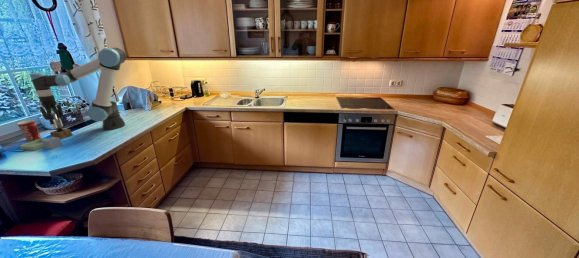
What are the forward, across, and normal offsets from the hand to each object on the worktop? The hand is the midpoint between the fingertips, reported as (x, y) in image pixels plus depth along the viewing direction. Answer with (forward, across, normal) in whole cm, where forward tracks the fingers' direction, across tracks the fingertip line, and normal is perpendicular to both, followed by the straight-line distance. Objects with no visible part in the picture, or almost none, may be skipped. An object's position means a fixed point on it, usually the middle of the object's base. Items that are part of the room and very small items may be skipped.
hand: (58, 127), depth 174 cm
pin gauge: (+4, 0, 0) cm, 4 cm away
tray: (+8, +16, +1) cm, 18 cm away
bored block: (+8, 0, 0) cm, 8 cm away
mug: (+8, +7, -16) cm, 19 cm away
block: (+8, +15, +13) cm, 21 cm away
